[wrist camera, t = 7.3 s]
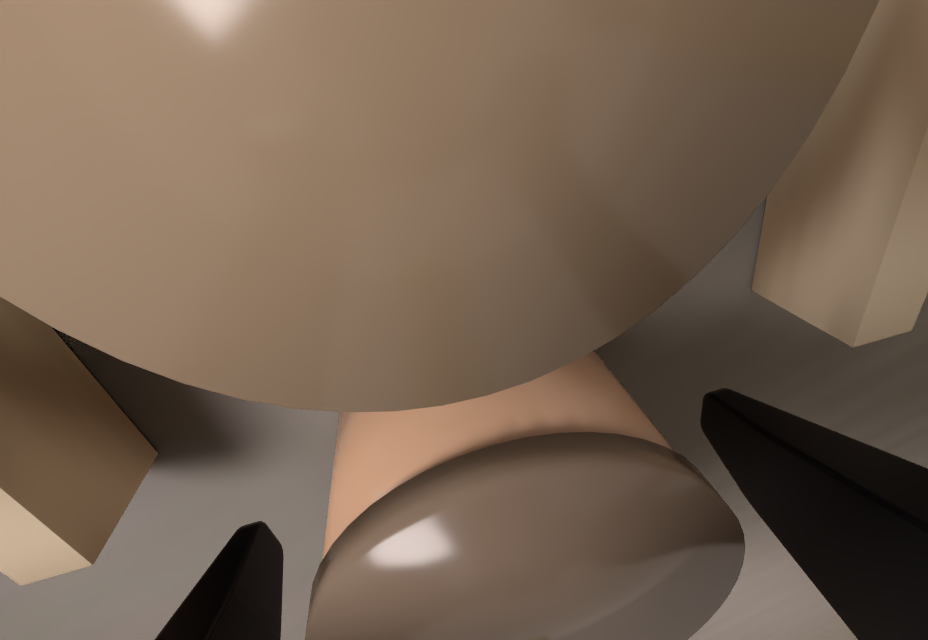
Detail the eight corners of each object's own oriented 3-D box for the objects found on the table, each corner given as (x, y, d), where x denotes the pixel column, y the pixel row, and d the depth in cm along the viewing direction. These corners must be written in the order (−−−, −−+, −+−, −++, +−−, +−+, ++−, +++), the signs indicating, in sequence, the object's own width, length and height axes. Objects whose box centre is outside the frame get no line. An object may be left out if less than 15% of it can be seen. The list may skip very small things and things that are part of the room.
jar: (597, 450, 12) (719, 656, 8) (383, 512, 12) (386, 763, 7) (586, 247, 9) (782, 407, 5) (291, 325, 9) (203, 576, 4)
